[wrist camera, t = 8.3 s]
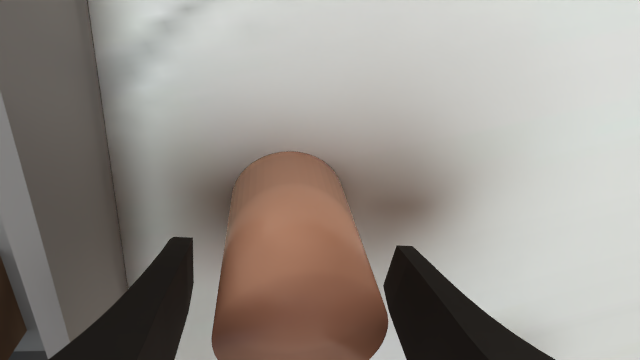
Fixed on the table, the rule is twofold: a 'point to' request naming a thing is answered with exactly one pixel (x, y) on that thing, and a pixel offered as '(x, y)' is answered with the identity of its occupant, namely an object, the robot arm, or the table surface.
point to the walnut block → (9, 317)
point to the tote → (55, 176)
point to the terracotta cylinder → (295, 269)
